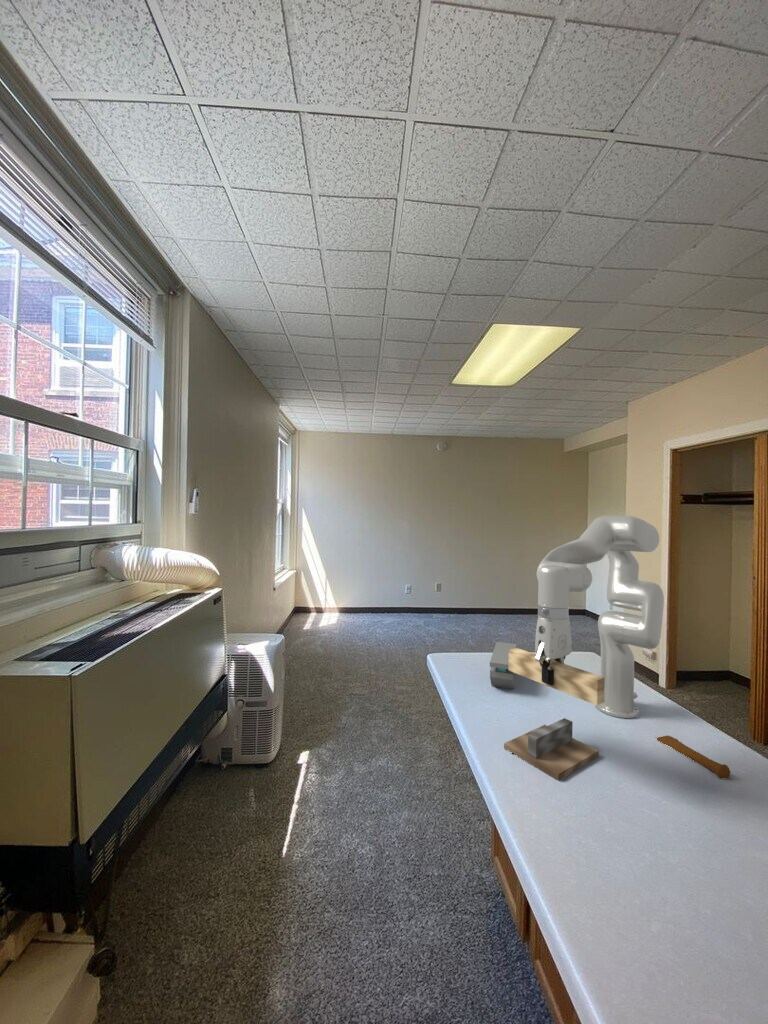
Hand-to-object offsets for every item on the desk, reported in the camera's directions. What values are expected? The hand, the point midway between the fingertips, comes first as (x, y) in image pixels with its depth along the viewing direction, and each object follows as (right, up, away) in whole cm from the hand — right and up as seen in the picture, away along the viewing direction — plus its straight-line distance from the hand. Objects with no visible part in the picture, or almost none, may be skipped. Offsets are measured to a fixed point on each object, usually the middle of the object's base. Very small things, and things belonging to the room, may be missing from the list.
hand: (552, 681), depth 112 cm
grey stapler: (+1, -19, +47) cm, 50 cm away
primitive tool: (+36, -20, -1) cm, 41 cm away
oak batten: (0, -1, 0) cm, 1 cm away
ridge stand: (0, -19, 0) cm, 19 cm away
